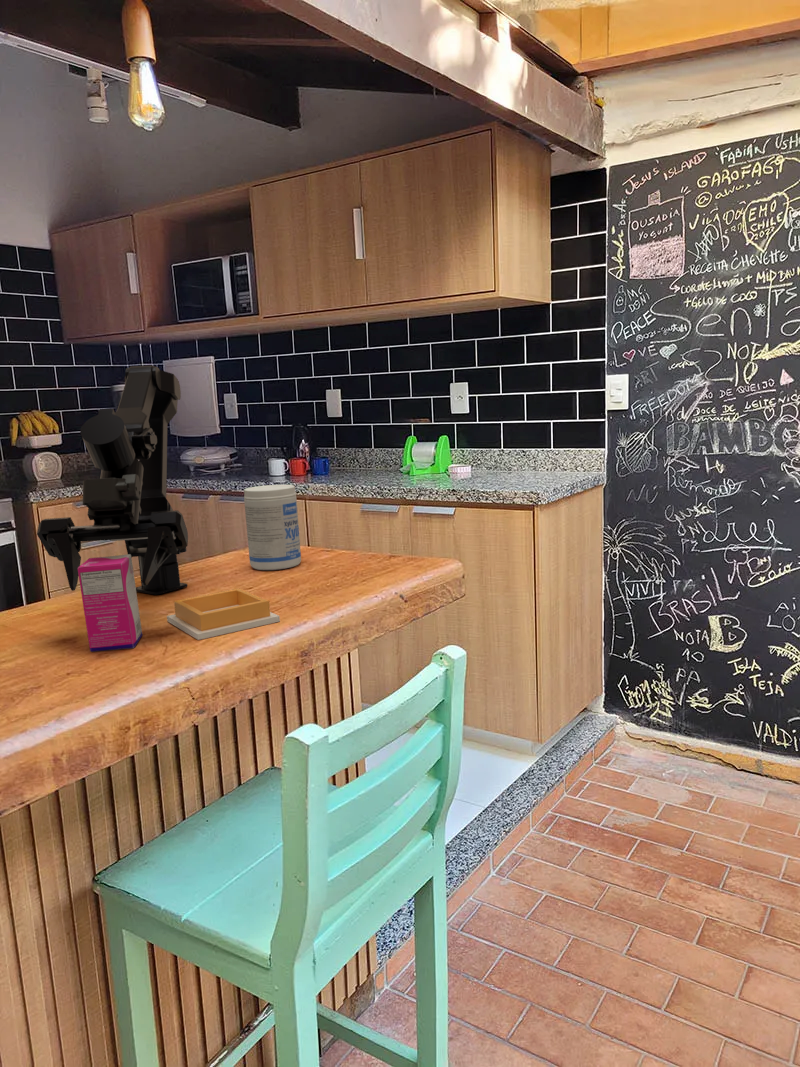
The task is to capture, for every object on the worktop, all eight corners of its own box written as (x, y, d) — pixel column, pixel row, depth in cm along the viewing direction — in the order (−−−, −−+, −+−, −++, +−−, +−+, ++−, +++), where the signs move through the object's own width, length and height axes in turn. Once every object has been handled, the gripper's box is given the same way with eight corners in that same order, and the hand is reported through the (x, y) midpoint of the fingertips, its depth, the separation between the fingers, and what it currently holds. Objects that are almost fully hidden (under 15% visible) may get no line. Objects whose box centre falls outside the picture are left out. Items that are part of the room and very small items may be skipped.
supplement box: (98, 639, 110) (88, 556, 108) (143, 635, 111) (134, 553, 109) (87, 652, 105) (76, 566, 103) (134, 648, 105) (124, 562, 103)
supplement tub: (300, 569, 147) (294, 488, 144) (247, 573, 146) (240, 492, 143) (302, 558, 156) (296, 482, 153) (252, 562, 155) (246, 485, 153)
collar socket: (167, 621, 117) (165, 601, 117) (244, 605, 124) (242, 586, 123) (198, 640, 107) (195, 618, 107) (279, 621, 114) (278, 600, 114)
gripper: (32, 459, 107) (11, 557, 98) (175, 450, 109) (168, 546, 100) (58, 509, 117) (42, 603, 108) (190, 501, 118) (185, 593, 109)
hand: (108, 586), depth 106 cm, fingers open, 9 cm apart
